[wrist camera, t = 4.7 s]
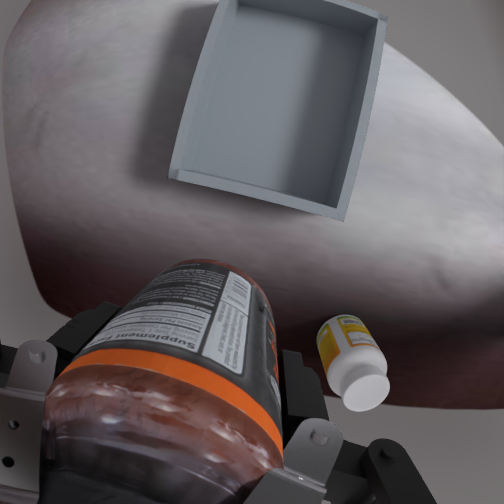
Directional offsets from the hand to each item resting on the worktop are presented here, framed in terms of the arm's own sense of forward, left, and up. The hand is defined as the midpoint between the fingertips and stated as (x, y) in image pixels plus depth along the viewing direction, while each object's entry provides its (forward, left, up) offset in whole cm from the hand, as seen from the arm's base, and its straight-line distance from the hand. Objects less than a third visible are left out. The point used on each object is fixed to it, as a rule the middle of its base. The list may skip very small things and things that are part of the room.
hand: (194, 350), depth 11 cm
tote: (-1, -14, -18) cm, 23 cm away
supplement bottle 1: (0, 0, -3) cm, 3 cm away
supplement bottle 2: (-13, +7, -18) cm, 23 cm away
